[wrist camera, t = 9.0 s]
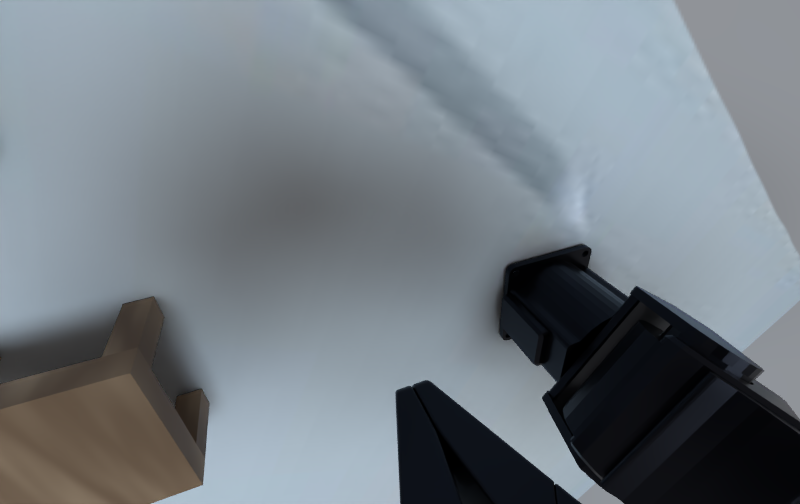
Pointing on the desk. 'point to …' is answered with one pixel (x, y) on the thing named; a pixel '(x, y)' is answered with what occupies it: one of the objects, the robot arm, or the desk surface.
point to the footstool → (102, 426)
